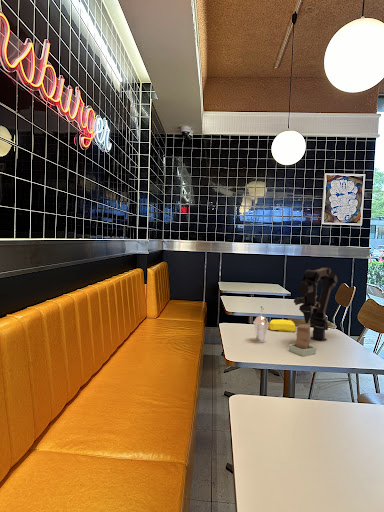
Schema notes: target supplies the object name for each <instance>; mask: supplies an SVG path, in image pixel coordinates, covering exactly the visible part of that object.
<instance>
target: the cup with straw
mask: <svg viewBox="0 0 384 512" xmlns="http://www.w3.org/2000/svg"><path fill="white" fill-rule="evenodd" d="M252 323H253V324H254V332H255V341H256V342H257V343H265V339H266V334H267V329H268V325H269V324H270V322H269V321H268V319H267V317H265V316H263V306H260V315H258V316H257V317H256V318H254V320H253V322H252Z"/></svg>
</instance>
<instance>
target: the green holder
mask: <svg viewBox="0 0 384 512" xmlns="http://www.w3.org/2000/svg"><path fill="white" fill-rule="evenodd" d="M288 351H289V352H291V353H293V354H296V355H299V356H301V357H306V356H312V355H316V354H317V347H315V346H312V345H309V349H304V350H303V349H300V348H298V347H296V343H292V344H288Z"/></svg>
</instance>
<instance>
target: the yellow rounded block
mask: <svg viewBox="0 0 384 512" xmlns="http://www.w3.org/2000/svg"><path fill="white" fill-rule="evenodd" d="M267 329H268V330H271V331H272V330H278V331H277V332H289V333H294V332H297V326H296V324H295V322H294V321H293V320H288V319H282V318H281V319H271V320H270V322H269V325H267Z"/></svg>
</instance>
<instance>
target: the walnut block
mask: <svg viewBox="0 0 384 512" xmlns="http://www.w3.org/2000/svg"><path fill="white" fill-rule="evenodd" d="M296 328H297V329H296V338H295V339H296V340H295V342H296V343H295V344H296V347H298V348H300V349H303V350H304V349H309V346H310V338H311V336H310V335H311V326H309V325H303V324H299V325H297V326H296Z"/></svg>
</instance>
